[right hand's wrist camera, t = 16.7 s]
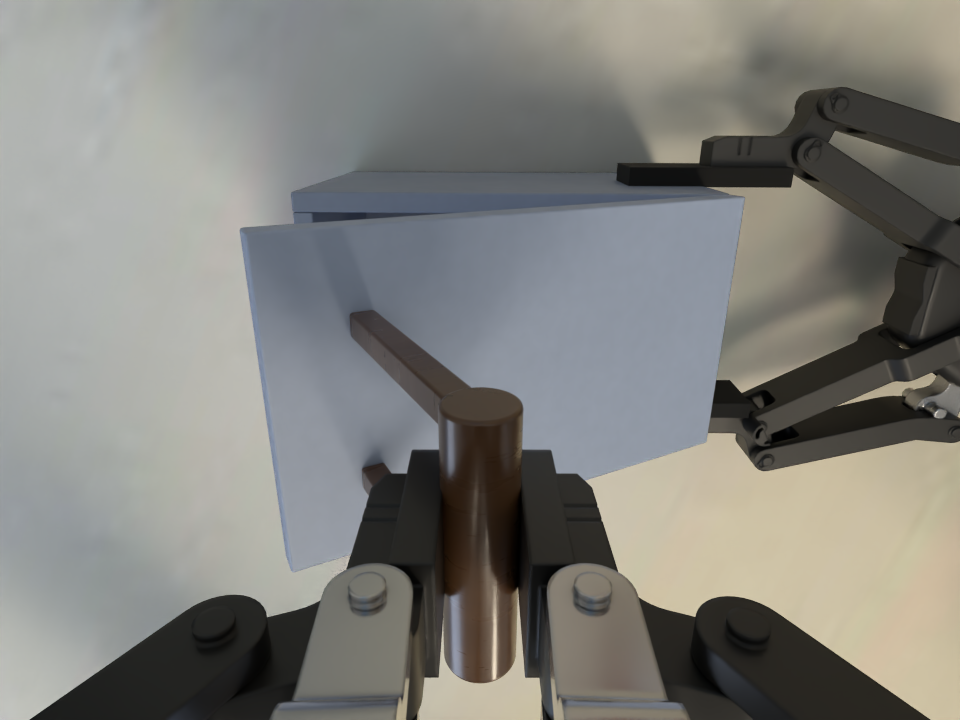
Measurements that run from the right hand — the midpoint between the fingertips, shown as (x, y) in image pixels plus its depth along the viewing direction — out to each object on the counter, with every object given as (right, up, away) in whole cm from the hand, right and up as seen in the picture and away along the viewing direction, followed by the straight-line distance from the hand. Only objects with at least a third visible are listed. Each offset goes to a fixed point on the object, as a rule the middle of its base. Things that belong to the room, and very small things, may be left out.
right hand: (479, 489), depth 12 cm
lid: (+1, +3, +7) cm, 8 cm away
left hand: (+6, +6, +15) cm, 17 cm away
